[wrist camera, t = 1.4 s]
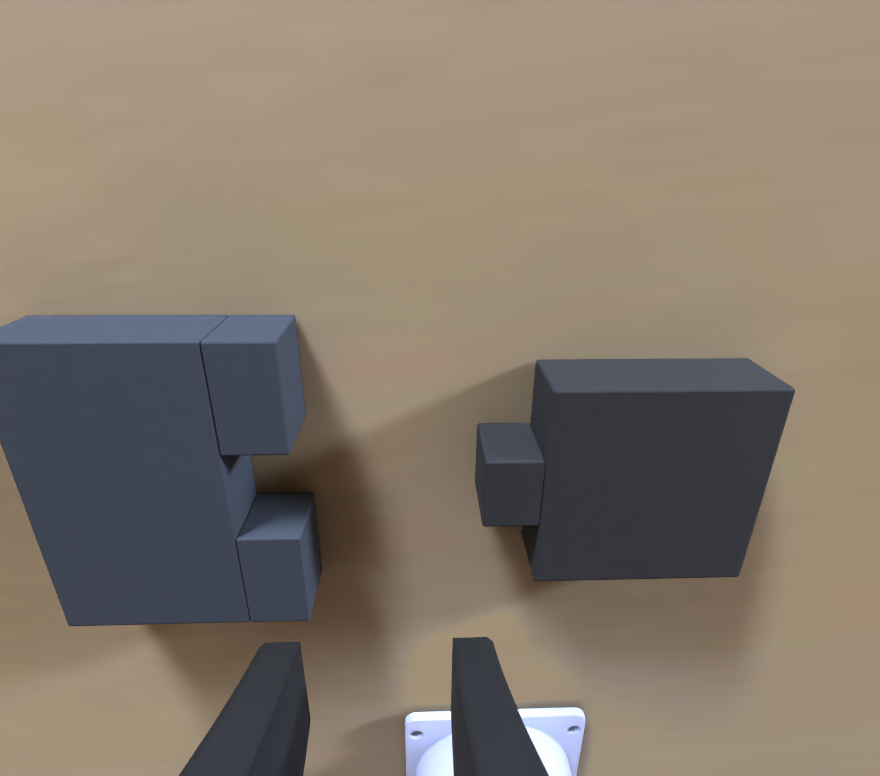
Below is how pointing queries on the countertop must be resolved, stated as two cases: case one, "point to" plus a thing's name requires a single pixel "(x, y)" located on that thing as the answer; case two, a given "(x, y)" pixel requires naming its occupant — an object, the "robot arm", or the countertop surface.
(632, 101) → the countertop surface
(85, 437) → the grey pad
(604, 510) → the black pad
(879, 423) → the countertop surface
